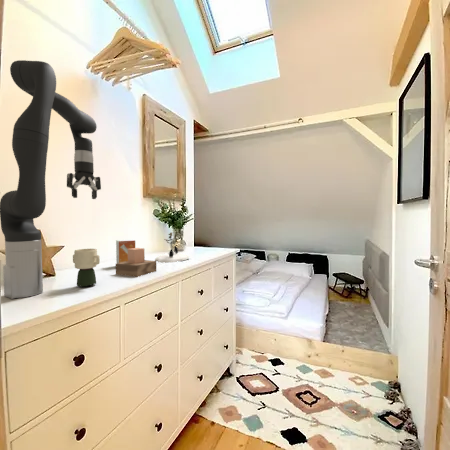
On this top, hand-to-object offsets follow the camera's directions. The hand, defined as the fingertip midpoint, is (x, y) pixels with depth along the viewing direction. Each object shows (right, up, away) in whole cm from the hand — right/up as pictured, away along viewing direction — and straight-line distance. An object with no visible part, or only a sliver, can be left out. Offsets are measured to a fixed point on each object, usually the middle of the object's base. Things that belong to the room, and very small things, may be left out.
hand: (84, 198), depth 118 cm
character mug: (+14, -34, -24) cm, 44 cm away
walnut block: (+24, -33, -2) cm, 41 cm away
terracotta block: (+24, -28, -2) cm, 37 cm away
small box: (+13, -33, +14) cm, 38 cm away
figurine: (+33, -32, +33) cm, 57 cm away
